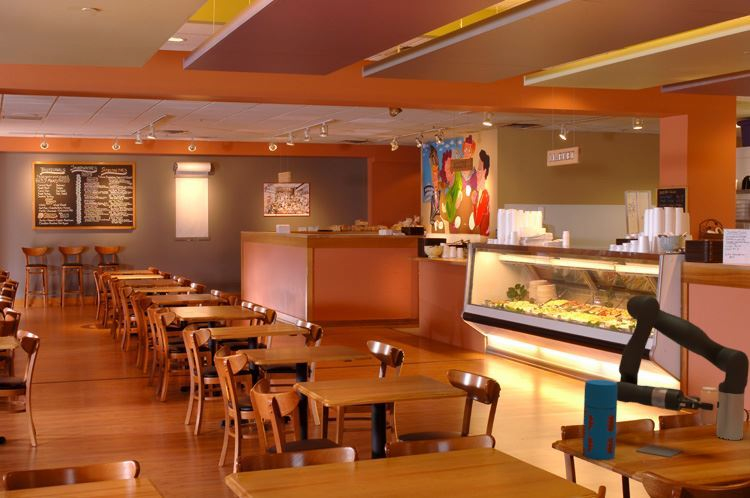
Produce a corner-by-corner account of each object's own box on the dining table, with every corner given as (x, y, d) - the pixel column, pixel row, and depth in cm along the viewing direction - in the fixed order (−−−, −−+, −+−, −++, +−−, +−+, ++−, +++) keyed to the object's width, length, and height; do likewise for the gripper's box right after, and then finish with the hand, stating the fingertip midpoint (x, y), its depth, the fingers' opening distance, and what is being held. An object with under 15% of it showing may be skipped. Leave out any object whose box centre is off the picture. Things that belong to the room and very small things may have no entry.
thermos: (612, 452, 327) (615, 380, 326) (617, 460, 316) (620, 385, 316) (580, 451, 328) (583, 379, 327) (584, 458, 317) (586, 384, 317)
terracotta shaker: (702, 419, 329) (704, 385, 329) (718, 422, 326) (720, 387, 325) (696, 422, 325) (698, 387, 324) (713, 424, 322) (714, 389, 321)
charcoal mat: (649, 445, 339) (649, 444, 339) (682, 451, 332) (682, 450, 332) (636, 451, 330) (636, 450, 330) (669, 457, 322) (669, 456, 322)
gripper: (660, 390, 328) (709, 397, 318) (675, 385, 339) (723, 392, 329) (659, 412, 328) (708, 420, 318) (674, 406, 340) (722, 414, 329)
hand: (715, 406), depth 324 cm, fingers closed on terracotta shaker, 5 cm apart
